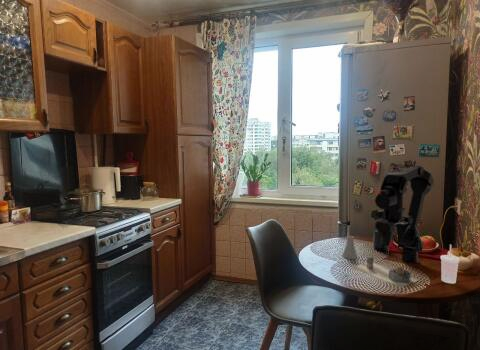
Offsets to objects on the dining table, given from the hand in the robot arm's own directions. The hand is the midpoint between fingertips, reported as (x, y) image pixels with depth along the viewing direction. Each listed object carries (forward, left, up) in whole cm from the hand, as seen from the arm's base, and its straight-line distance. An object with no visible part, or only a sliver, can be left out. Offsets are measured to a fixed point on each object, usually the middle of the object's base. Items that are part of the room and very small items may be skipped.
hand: (393, 243), depth 133 cm
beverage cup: (-10, +17, -12) cm, 23 cm away
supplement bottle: (-20, -19, -12) cm, 30 cm away
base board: (+6, +1, -12) cm, 13 cm away
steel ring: (+6, +7, -11) cm, 14 cm away
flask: (+2, -19, -12) cm, 23 cm away
